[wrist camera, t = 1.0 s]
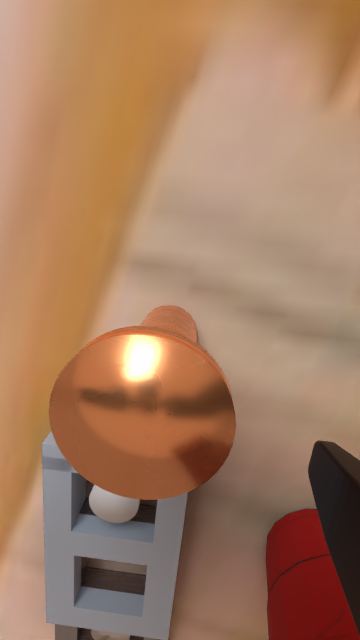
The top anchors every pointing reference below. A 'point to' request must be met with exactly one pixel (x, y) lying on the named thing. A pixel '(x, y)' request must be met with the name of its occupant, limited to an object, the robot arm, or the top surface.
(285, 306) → the top surface
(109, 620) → the frame
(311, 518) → the plastic cup
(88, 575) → the lower chain end
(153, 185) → the top surface
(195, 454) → the pin
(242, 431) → the top surface
